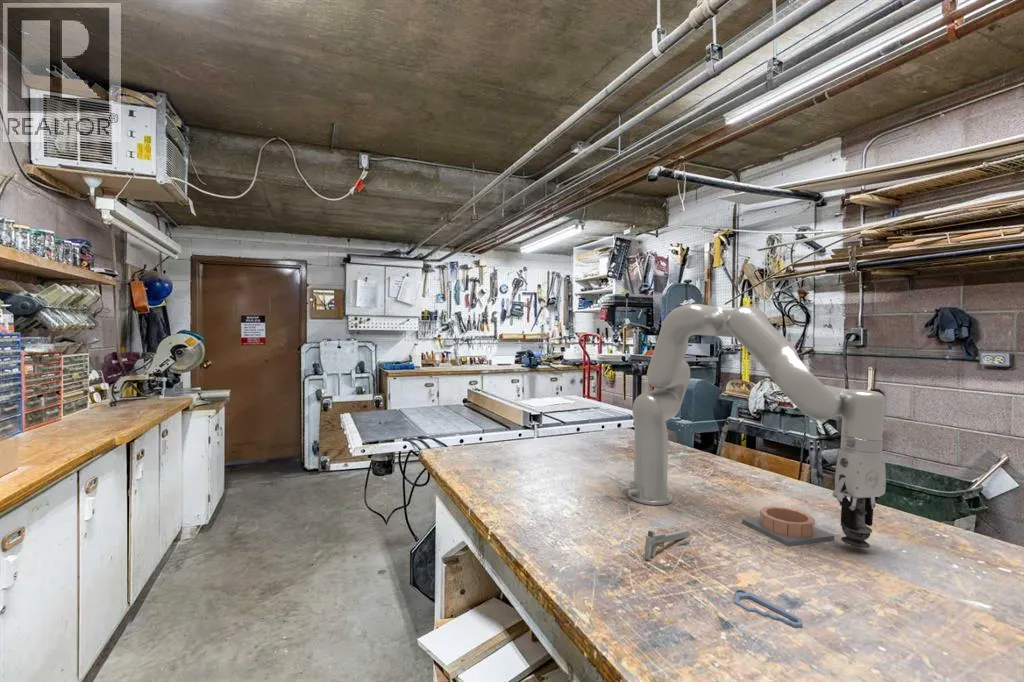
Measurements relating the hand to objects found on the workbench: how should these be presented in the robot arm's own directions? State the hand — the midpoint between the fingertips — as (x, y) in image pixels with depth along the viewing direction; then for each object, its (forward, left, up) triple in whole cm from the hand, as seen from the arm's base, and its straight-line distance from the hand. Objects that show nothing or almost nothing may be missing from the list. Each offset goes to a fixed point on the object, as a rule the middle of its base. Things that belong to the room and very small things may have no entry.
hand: (856, 523), depth 107 cm
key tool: (-40, -14, -7) cm, 43 cm away
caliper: (-40, +12, -7) cm, 43 cm away
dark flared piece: (0, 0, -5) cm, 5 cm away
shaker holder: (-7, +12, -6) cm, 15 cm away
